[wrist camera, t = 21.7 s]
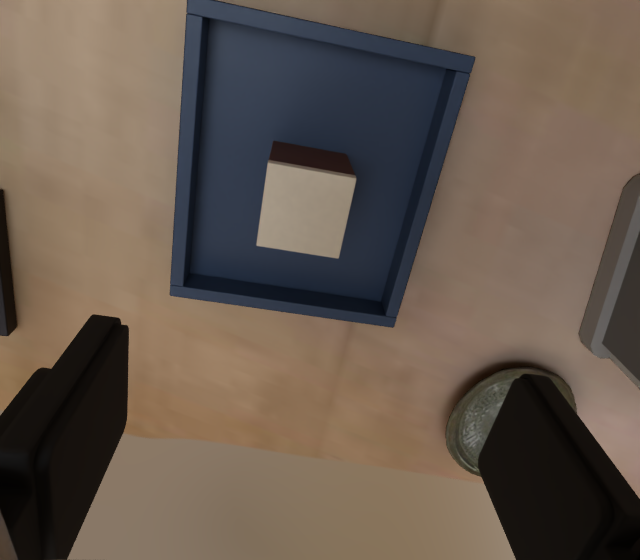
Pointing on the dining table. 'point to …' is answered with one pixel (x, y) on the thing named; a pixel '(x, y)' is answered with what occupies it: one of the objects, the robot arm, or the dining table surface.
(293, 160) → the cake slice
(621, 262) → the alarm clock
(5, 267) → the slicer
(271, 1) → the dining table surface
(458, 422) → the lid
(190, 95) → the tray
